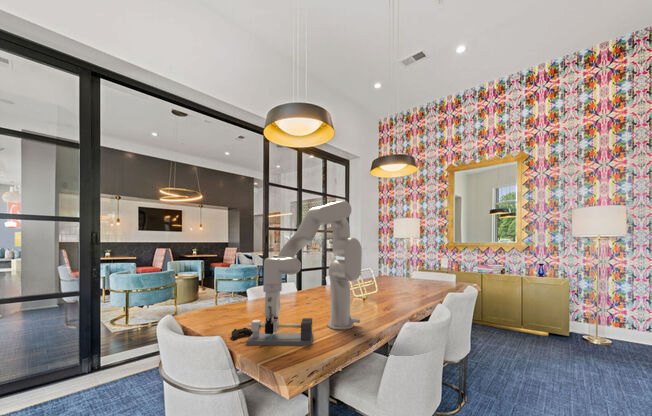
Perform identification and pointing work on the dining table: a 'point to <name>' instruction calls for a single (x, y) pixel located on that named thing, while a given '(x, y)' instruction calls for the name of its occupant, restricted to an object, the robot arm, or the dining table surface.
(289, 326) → the board
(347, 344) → the dining table surface
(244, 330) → the game controller
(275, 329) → the sleeve
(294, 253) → the robot arm
